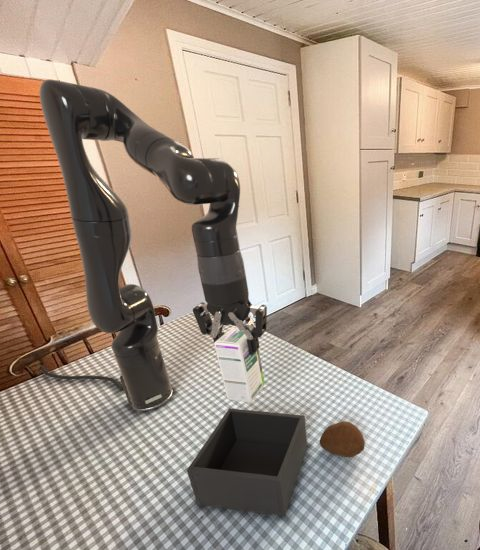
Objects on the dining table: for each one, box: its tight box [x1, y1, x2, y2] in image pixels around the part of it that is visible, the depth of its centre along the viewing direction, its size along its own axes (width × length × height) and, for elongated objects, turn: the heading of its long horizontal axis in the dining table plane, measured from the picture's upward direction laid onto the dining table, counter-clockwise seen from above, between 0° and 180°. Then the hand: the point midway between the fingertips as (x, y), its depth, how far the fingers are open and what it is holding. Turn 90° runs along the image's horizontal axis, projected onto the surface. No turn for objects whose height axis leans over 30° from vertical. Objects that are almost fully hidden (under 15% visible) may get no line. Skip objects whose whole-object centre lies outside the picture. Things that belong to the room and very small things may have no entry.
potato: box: [319, 420, 366, 459], centre depth 69 cm, size 7×10×7 cm
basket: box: [186, 407, 308, 517], centre depth 63 cm, size 18×15×10 cm
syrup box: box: [213, 326, 265, 404], centre depth 63 cm, size 6×6×14 cm
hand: (238, 351), depth 61 cm, fingers closed on syrup box, 6 cm apart
